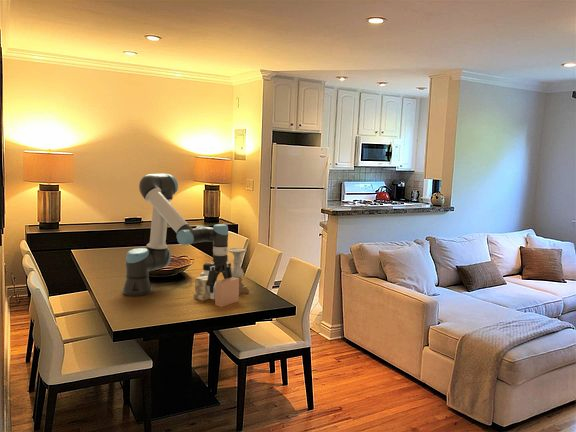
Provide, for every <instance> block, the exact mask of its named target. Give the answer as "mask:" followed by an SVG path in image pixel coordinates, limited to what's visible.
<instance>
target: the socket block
mask: <svg viewBox="0 0 576 432" xmlns="http://www.w3.org/2000/svg"><path fill="white" fill-rule="evenodd" d="M239 298H240V294H239V278H235V277H231V278H227V279H223V278H222V279H221V280H217V281H216V292H215V299H214V302H215V303H214V305H215V306H218V307H221V308H222V307H225V306H228V305H231V304H235V303H239V300H240V299H239Z"/></svg>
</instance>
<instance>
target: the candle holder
mask: <svg viewBox="0 0 576 432" xmlns="http://www.w3.org/2000/svg"><path fill="white" fill-rule="evenodd" d="M228 252H229V253H232V255H233V259H232V262H233V266H232V269H231V273H232V277H235V278H239V295H243V294H244V295H245V294H249V293H250V289H249V288H248V286H247V285H245V283H243V278H242V277H243V276H244V270H243V268H242V267H241V263H242V262H243V260H242V259H241V257H242V255H243V254H244V253H246V252H247V248H241V247H237V248H236V247H234V248H228Z"/></svg>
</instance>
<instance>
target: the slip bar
mask: <svg viewBox="0 0 576 432" xmlns="http://www.w3.org/2000/svg"><path fill="white" fill-rule="evenodd" d="M214 286H215V292H216V282H215V285H214ZM206 292H210V286H207V282H206Z"/></svg>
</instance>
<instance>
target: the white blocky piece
mask: <svg viewBox="0 0 576 432" xmlns="http://www.w3.org/2000/svg"><path fill="white" fill-rule="evenodd" d="M207 280H208V276H202V277H200V276H198V277H195V282H194V283H195V285H194V288H195V289H194V292H193V299H197V300H200V301H206V300H210V299H211V298H210V292H206V282H207Z"/></svg>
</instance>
